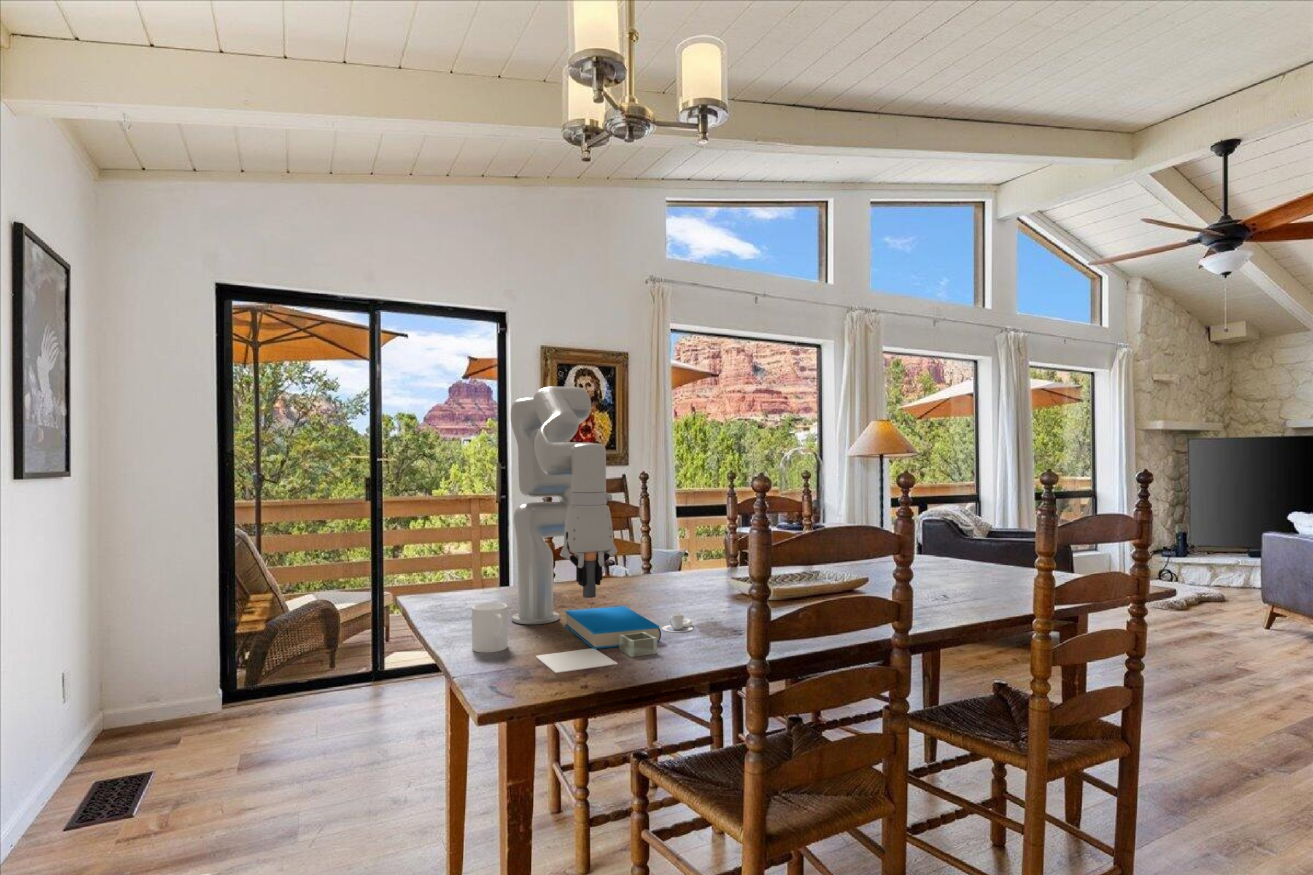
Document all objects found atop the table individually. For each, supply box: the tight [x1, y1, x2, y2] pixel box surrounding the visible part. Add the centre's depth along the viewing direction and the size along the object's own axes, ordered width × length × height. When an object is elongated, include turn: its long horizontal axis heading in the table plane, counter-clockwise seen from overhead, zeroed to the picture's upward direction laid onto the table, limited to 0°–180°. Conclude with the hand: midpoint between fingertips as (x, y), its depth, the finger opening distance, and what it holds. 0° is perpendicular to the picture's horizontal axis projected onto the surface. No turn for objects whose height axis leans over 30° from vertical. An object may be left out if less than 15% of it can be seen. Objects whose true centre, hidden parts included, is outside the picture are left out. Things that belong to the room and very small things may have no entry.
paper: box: [534, 647, 619, 674], centre depth 169 cm, size 14×14×1 cm
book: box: [564, 605, 662, 650], centre depth 193 cm, size 17×4×25 cm
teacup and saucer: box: [661, 612, 694, 633], centre depth 198 cm, size 9×8×4 cm
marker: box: [582, 552, 597, 599], centre depth 168 cm, size 3×3×10 cm
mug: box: [471, 602, 509, 654], centre depth 179 cm, size 8×12×10 cm, turn 32°
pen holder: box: [618, 632, 658, 658], centre depth 176 cm, size 6×6×4 cm
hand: (589, 583), depth 168 cm, fingers closed on marker, 2 cm apart
